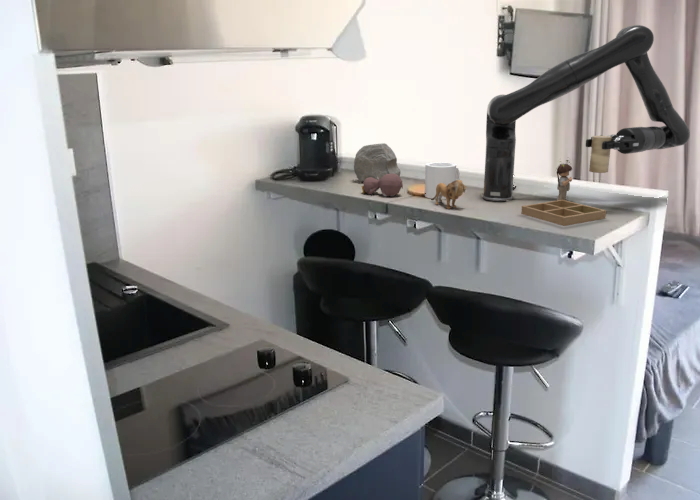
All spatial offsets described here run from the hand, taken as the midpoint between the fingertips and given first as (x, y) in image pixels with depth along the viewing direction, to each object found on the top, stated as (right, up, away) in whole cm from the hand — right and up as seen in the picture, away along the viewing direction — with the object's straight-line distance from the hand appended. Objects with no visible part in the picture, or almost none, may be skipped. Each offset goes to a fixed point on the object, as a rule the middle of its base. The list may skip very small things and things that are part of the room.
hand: (595, 144), depth 181 cm
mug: (-39, -12, +33) cm, 52 cm away
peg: (+2, -7, +4) cm, 8 cm away
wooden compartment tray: (-9, -21, +2) cm, 23 cm away
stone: (-60, -6, +55) cm, 82 cm away
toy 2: (-3, -16, +20) cm, 25 cm away
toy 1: (-59, -11, +36) cm, 70 cm away
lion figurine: (-39, -16, +19) cm, 47 cm away
